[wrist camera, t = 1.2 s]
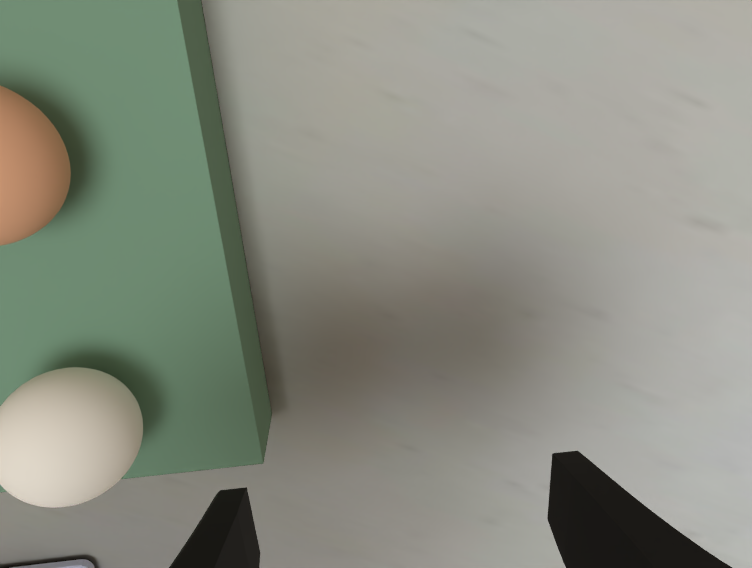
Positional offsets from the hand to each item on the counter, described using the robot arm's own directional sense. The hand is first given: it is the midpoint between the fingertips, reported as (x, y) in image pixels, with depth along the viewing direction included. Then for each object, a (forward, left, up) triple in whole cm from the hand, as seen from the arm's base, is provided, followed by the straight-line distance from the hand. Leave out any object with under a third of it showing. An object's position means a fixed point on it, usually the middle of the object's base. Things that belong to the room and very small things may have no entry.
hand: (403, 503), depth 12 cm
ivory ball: (0, +10, -4) cm, 10 cm away
